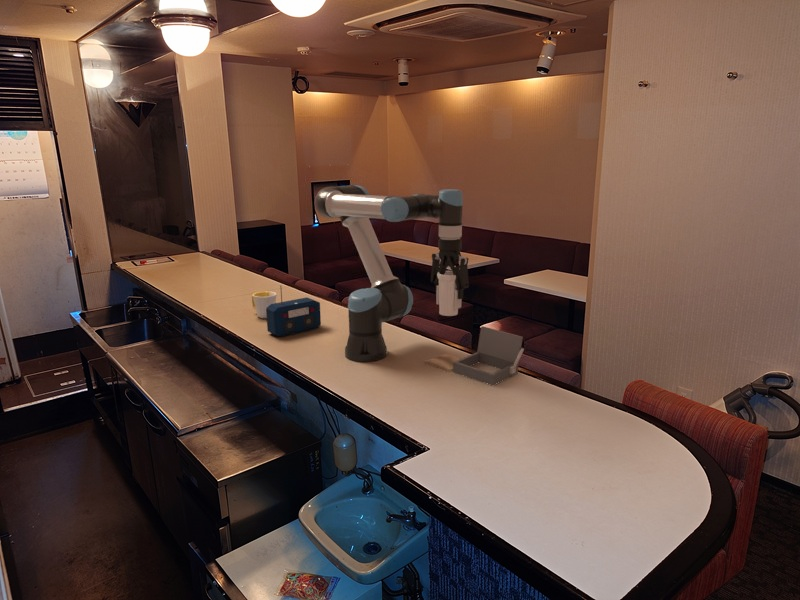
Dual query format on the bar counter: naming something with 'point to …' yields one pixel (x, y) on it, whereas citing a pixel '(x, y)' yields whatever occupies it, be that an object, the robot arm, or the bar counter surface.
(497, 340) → the grey caddy tray
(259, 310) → the mug
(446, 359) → the trivet
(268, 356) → the bar counter surface
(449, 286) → the cup
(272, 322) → the radio
